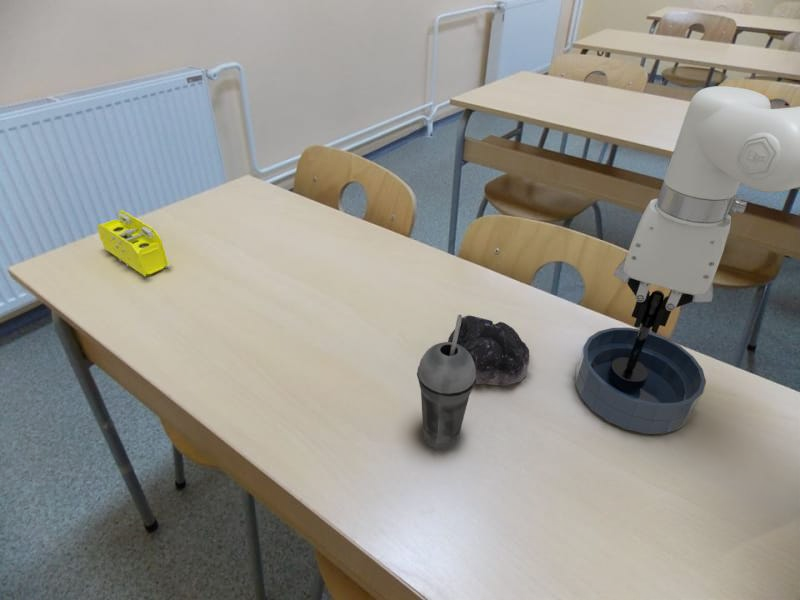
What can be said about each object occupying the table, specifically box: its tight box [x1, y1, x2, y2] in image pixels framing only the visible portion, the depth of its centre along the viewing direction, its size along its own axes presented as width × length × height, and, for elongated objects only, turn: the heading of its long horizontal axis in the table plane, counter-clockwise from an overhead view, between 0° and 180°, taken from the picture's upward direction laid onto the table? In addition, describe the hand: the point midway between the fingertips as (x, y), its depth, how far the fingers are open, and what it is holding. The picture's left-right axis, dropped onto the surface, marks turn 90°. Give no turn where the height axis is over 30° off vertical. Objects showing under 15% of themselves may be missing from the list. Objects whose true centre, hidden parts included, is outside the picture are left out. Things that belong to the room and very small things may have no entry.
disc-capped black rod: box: [608, 289, 665, 390], centre depth 73 cm, size 5×5×16 cm
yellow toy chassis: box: [96, 209, 170, 277], centre depth 102 cm, size 16×6×8 cm, turn 51°
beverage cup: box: [416, 314, 476, 451], centre depth 64 cm, size 7×7×20 cm
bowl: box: [574, 327, 707, 435], centre depth 75 cm, size 16×16×6 cm
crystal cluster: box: [447, 315, 530, 387], centre depth 79 cm, size 13×14×10 cm
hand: (646, 323), depth 71 cm, fingers closed on disc-capped black rod
